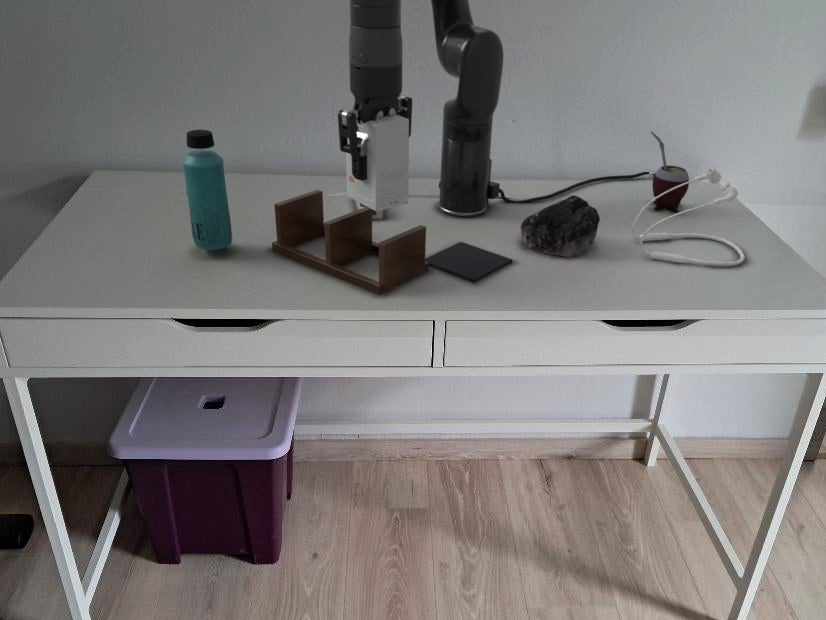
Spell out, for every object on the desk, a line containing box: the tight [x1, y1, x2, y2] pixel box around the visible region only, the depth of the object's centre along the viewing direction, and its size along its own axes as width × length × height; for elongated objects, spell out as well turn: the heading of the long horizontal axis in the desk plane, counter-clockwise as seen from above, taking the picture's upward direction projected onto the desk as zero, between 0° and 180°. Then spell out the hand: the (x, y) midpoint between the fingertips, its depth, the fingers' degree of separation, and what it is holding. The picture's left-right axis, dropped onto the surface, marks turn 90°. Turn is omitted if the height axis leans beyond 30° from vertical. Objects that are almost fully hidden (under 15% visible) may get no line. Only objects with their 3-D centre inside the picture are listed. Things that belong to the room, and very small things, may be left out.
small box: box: [345, 115, 410, 211], centre depth 120 cm, size 8×6×13 cm
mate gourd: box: [650, 130, 690, 214], centre depth 158 cm, size 8×8×15 cm
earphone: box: [631, 167, 746, 267], centre depth 142 cm, size 14×17×18 cm
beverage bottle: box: [182, 129, 233, 251], centre depth 128 cm, size 6×7×20 cm
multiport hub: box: [354, 200, 384, 220], centre depth 153 cm, size 4×11×2 cm, turn 11°
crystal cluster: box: [520, 194, 601, 258], centre depth 141 cm, size 13×14×10 cm
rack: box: [271, 189, 430, 296], centre depth 131 cm, size 12×24×8 cm, turn 52°
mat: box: [425, 241, 513, 284], centre depth 135 cm, size 11×11×1 cm
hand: (376, 173), depth 122 cm, fingers closed on small box, 7 cm apart
